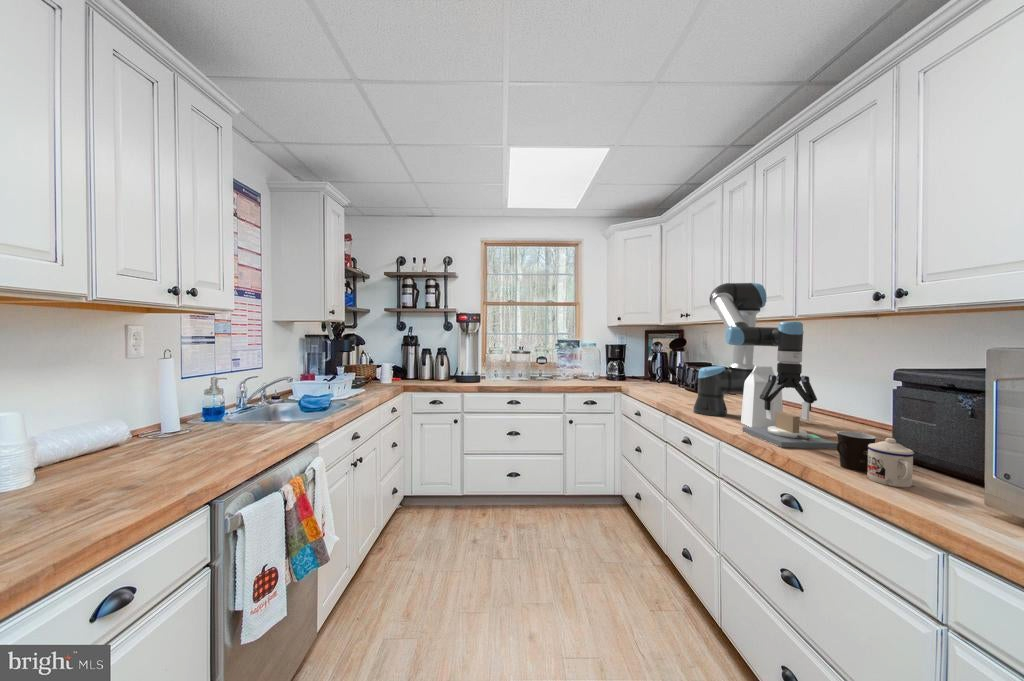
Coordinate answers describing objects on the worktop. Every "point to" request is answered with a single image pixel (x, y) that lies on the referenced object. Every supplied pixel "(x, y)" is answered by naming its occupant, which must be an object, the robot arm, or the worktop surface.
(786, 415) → the dial
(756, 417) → the milk
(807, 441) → the dial board
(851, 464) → the coffee mug
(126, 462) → the worktop surface
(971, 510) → the worktop surface
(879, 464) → the teacup with lid
